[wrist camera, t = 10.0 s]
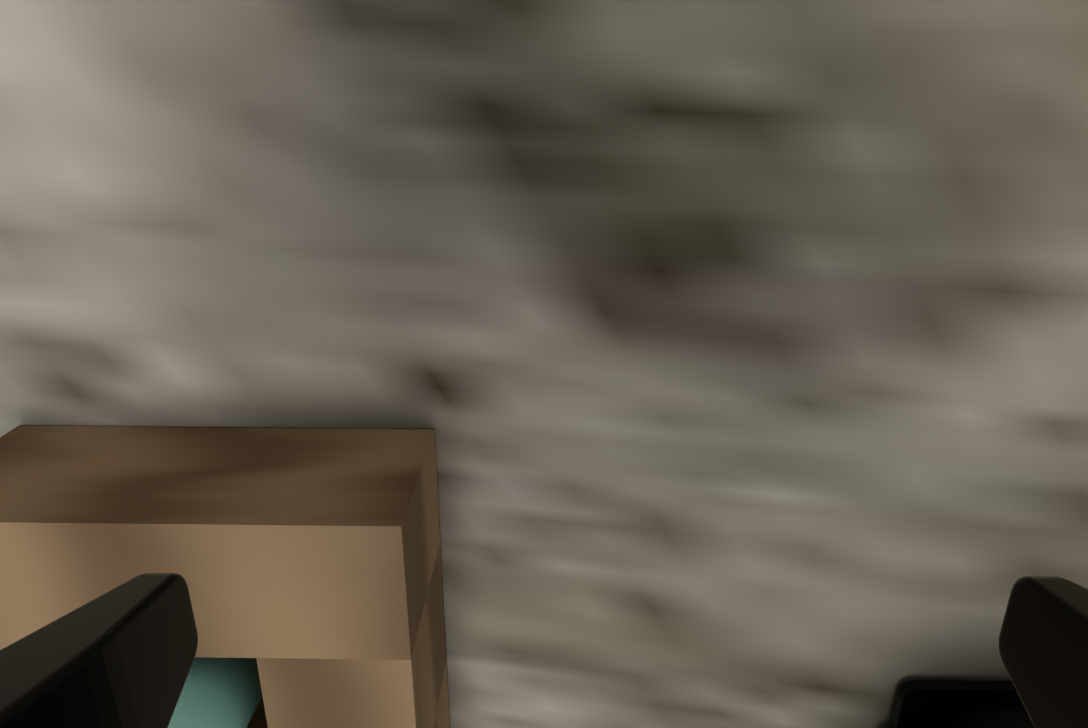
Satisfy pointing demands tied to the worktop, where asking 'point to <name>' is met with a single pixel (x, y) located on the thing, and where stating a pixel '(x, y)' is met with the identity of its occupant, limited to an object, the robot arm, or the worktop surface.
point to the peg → (218, 694)
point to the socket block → (247, 554)
